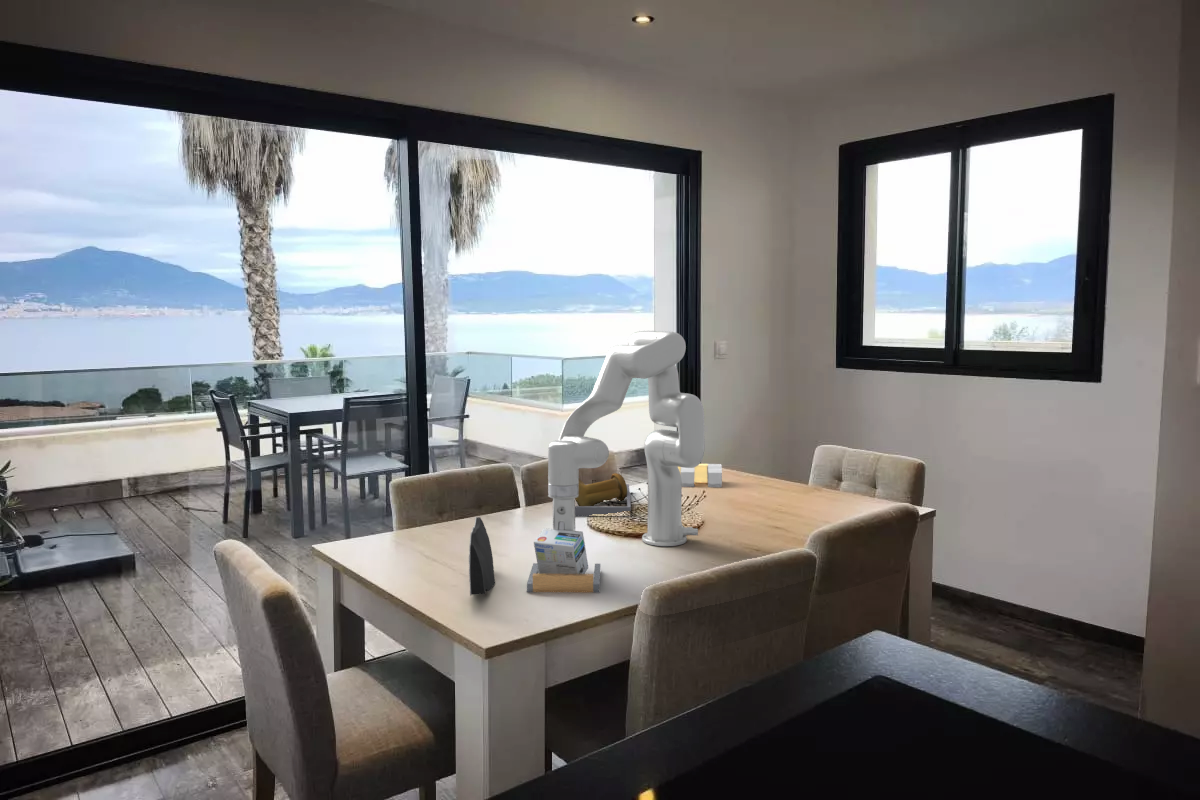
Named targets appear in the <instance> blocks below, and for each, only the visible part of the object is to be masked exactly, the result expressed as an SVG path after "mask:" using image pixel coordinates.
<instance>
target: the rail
mask: <svg viewBox="0 0 1200 800" xmlns="http://www.w3.org/2000/svg"><path fill="white" fill-rule="evenodd" d="M600 587H601V563H594V572H593V573H585V574H539V569H538V564H537V562H536V563H534V562H533V563H532V566H531V569H530V573H529V576H528V579H527V582H526V593H600Z"/></svg>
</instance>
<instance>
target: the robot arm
mask: <svg viewBox="0 0 1200 800" xmlns="http://www.w3.org/2000/svg"><path fill="white" fill-rule="evenodd" d="M627 340H628V342H627V344H620V345H618V344H617V345H615V346H613V347H610V349H609V350H608V351H607V354H606V356H605V359H604V361H603V363H602V366H601V368H600V371H599V374H598V375H597V378H596V381H595V383H594V386H593V389H592V391H591V393H590V395H589V396H588V397H587V398H586V399H585V400H583V401H582V402H581V403H580V404H579V405H578V406H577V407H576V408H575V409H574V410H573V411H572V413H570V415H569V416H568V418H567V419H566V421H565V422H564V425H563V427H562V430H561V432H560V434H559V435H560V436H559V438H558V439H557V440H553V441H551V442H549V444H548V449H547V450H548V452H547V453H548V456H547V457H548V458H547V459H548V461H547V462H548V463H547V464H548V465H547V466H548V467H547V469H548V470H547V472H548V473H547V475H548V476H547V479H548V480H547V481H548V482H547V483H548V485H547V486H548V487H547V488H548V489H547V492H548V495H547V497H548V498H550V499H552V529H553V530H568V531H576V516H575V506H576V500H575V498H577V497H578V496H579V479H580V477H579V475H580V474H579V473H580V471H579V469H597V468H600V467H601V466H603V465H604V464H605V463H606V462H607V460H608V459H609V455H610V450H609V448H608V445H607V444H606V443H605V442H604V441H602V440H601V439H599V438H593V437H588V436H585V434H586V433H587V431H588V429H589V428H590V427H591V426H592V424H593V423H595V422H596V421H598V420H599V419H601V418H603V417H605V416H607V415H608V416H609V415H610V414H612V413H615V412H617V411H619V410H620V409H621V408H622V406H623V403H624V400H625V398H626V396H627V393H628V390H629V388H630V385H631V382H632V380H633V379H642V380H645V379H647V383H648V384H647V388H648V390H647V391H648V412H649V418H650V420H651V421H652V422H653V424H656V425H659V426H663V427H672V428H677V430H673V429H672V430H671V429H663V428H662V429H655V430H653V431H651V432H650V433H649V434H648V435H647V436H646V438H645V440H644V444H643V445H644V446H643V447H644V448H643V449H644V454H645V460H646V468H647V532H645V533H643V535H642V536H641V540H642V542H643V543H645V544H647V545H651V546H656V547H676V546H681V545H683V544H685V543H686V542H687V540H688V539H687V538H688V537H687V536H698V535H699V529H698V528H693V527H692V526H688V527H687V526H686V527H685V525H684V526H683V522H682V501H683V499H682V497H683V496H682V495H683V493H682V492H683V491H682V479H681V474H680V471H679V468H678V467H684V468H694V467H696V466H698V465H699V464H702V463H701V462H702V461H703V458H704V455H705V410H704V406H703V403H702V401H701V400H700V398H699V397H698V396H696V395H695V394H691V393H687V392H686V393H685V392H681V391H680V381H679V380H680V379H679V372H678V368H677V366H676V365H677V364H678V363H679V362H680V361H681V360H682V359H683V358H684V356H685V353H686V349H687V348H686V347H687V346H686V340H685V339H684V337H683V336H682V335H681V334H680V333H678V332H674V331H665V330H664V331H663V330H662V331H661V330H658V331H656V330H639V331H636V332H634V333H632V334H630V336H629V337H628V339H627Z"/></svg>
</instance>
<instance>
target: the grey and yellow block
mask: <svg viewBox="0 0 1200 800" xmlns="http://www.w3.org/2000/svg"><path fill="white" fill-rule="evenodd" d="M678 468H679V471H680V474H681V479H682V487H684V488H685V487H686V488H688V487H689V488H695V483H701V484H702V483H706V484H707V488H722V487H723V469H722V468H723V465H722V464H721V463H700V464H699V465H698V466H696V467H694V468H684V467H678Z"/></svg>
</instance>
